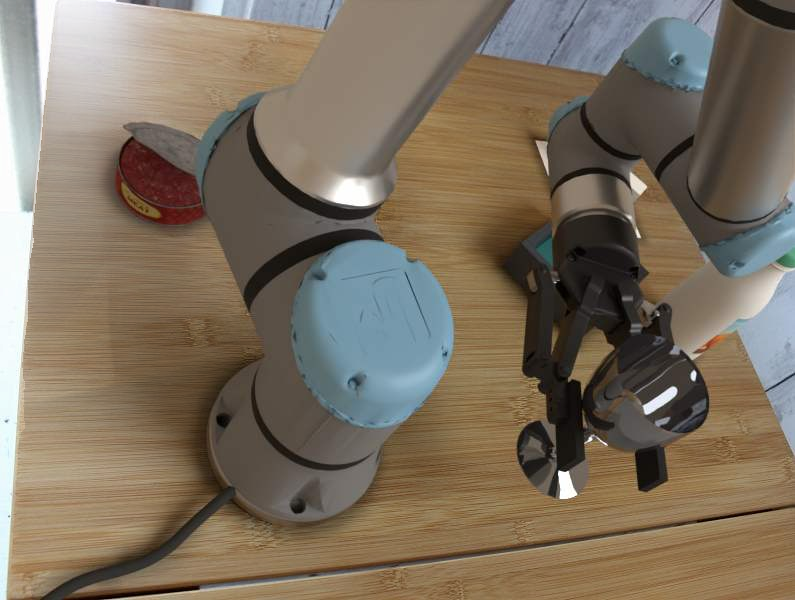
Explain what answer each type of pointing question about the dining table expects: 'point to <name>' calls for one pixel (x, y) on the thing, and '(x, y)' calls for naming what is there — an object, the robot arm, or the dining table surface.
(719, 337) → the milk bottle
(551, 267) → the dark grey open box
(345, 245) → the robot arm
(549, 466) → the wine glass
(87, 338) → the dining table surface
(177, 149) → the canned food
